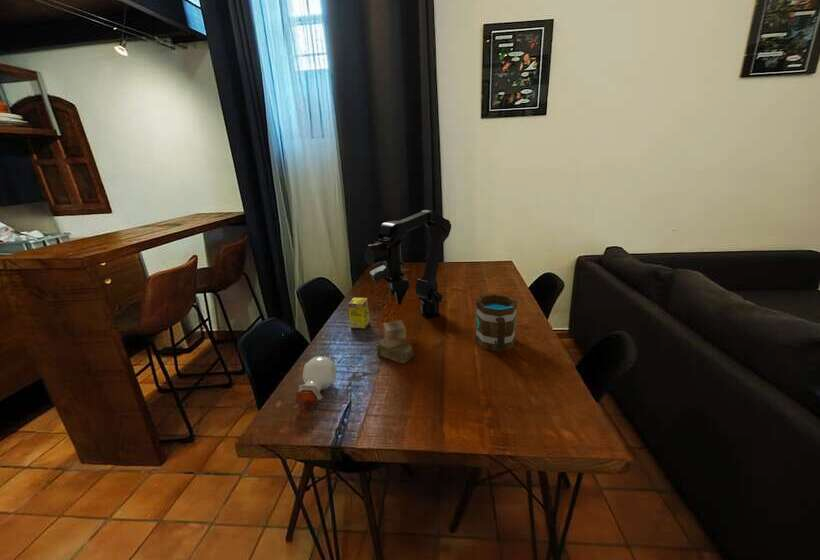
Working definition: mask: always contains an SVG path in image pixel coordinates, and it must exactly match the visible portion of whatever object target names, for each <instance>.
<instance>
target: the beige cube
mask: <svg viewBox="0 0 820 560" xmlns="http://www.w3.org/2000/svg"><path fill="white" fill-rule="evenodd" d="M383 335H384V338H385V341H386V343H387V345H388V348H392V347H397V346H402V345H407V343H408V341H407V340H408V339H407V328H406V325H405V324H404V323H403V321H402V319H399V320H393V321H392V320H391V321H388V322H383Z"/></svg>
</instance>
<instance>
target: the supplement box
mask: <svg viewBox="0 0 820 560" xmlns="http://www.w3.org/2000/svg"><path fill="white" fill-rule="evenodd" d="M348 313H349V323H350V329H351V330H360V331H365V330H366V329H367V328H368V326H369V325H370V323H371V321H370V311H369V301H368V297H353V298H351V300H350V301H349V302H348Z"/></svg>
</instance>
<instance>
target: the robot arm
mask: <svg viewBox="0 0 820 560" xmlns="http://www.w3.org/2000/svg"><path fill="white" fill-rule="evenodd" d="M423 225H425V226H427V227H428V235H429V238H430V243H429V247H428V252H427V256H426V261H425V265H424V266H425V267H424V272H423V274H422V277H421V278H417V280H416V285H415V288H414V289H415V294H416V295H417V298H418V300H421V304H420V313H421V314H422V316H423V317H424V318H425V319H427V318H429V319H430V318H434V317H440V316H441V313H440V309H439V305H440V302H442V300H443V295H442V294H441V293H440V292H439V291H438V290H439V289H438V288H439V287H438V286H439V284H438V282H437V273H438V269H439V263H440V260H441V254H442V252H443V251H442V250H443V245H444V243H445V241H446V240H447V239H448V238H449V236H450V233H451V230H452V223H451V221H450V220H449V219H446V218H445V217H444V216H441V215H439V214H438V213H436V212H435V210H429V209H423V210H421V211H420V212H418V213H414V214H413V215H410V216H408V217H405V218H402V219H400V220H391V221H386V222H383V223H381V225H380V228H379V231H378V234H377V236H376V238H375V239H374V243H373V244H370V243H369V244H367V247H366V249H365V251H364V254H363V256H364V260H365V262H366V263H367V265H368V266H375V265H378V264H381V263H382V264H383V265H380V266H378V267H376V268H374V269H372V270H370V271H369V274H370V276H371V279H372V280H373V282H374V283H379V282H380V281H381V280H383V279H384V281H386V283H387V285H388V289H389V291H390V294H391V296H395V298H396V302H397V304H398V305H401V304H403V303H402V302H403V300H404V297H405V295H406V293H407V291H408V290H409V289H410V288H411V282H410V281H409V280H408V279H407V277H405V273H404V272H403V265H404V261H403V260H402V249H401V246H402V245H405V244H406V242H405V241H404V240H403V239H402V238H404V237H405V236H406V234H407V233H408V232H409V231H411V230H414V229H417V228H418V227H420V226H423Z"/></svg>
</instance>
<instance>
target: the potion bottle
mask: <svg viewBox="0 0 820 560" xmlns="http://www.w3.org/2000/svg"><path fill="white" fill-rule="evenodd" d="M337 373H338V372H337V364H336V363H334V362H333V361H332V359H331V358H330V357H327V356H321V355H318V356H315V357H311V358H310V359H309V360H308V361H307V362H306V363H305V364H304V367H303V371H302V379H303V382H304V383H305V384H299V386H298V391H297V392H296V395H295V403H296V404H297V405H298V406H301V407H303V408H305V409H307V410H311V409H313V408H314V407H316V406H317V405H319V402H318V401H320V400H321V399H323V398H324V397H323V395H322V394H321V391H324V390H328V389H329V387H331V386H332V385H333V384H334V383H335V382H336V377H337Z"/></svg>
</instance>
